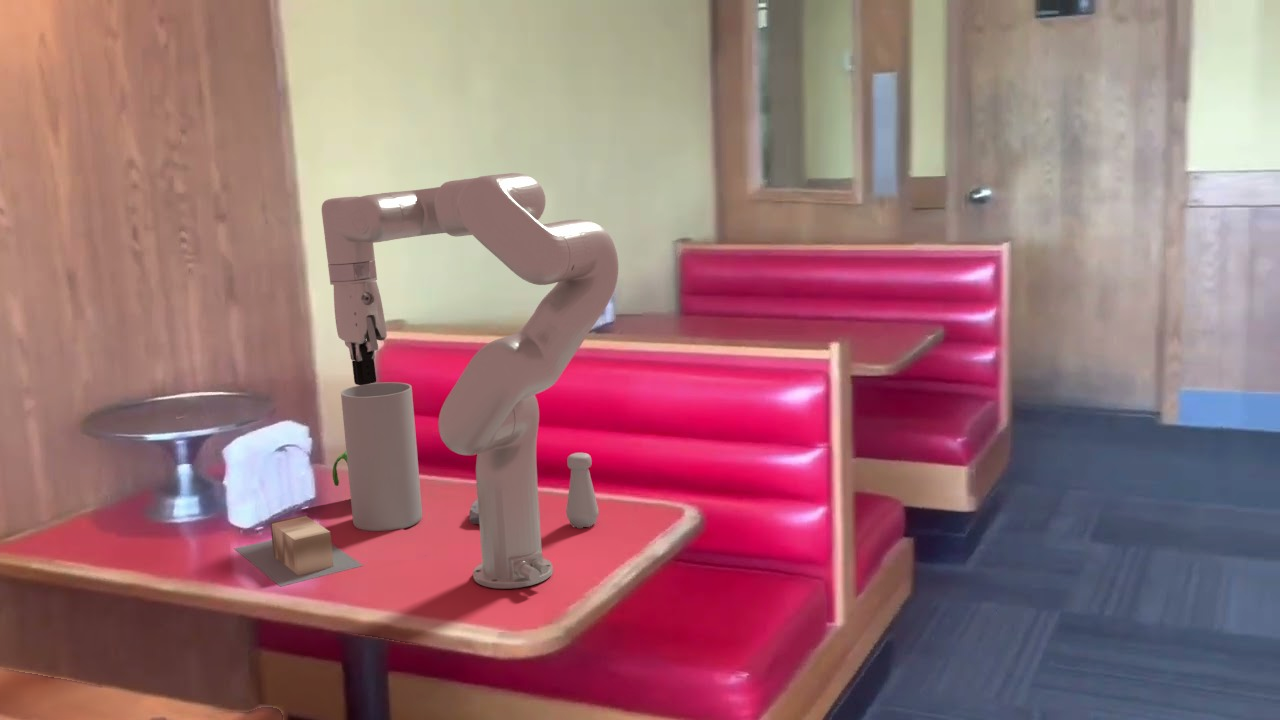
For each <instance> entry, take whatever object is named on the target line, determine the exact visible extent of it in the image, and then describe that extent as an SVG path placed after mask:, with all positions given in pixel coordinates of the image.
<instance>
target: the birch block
mask: <svg viewBox="0 0 1280 720" xmlns="http://www.w3.org/2000/svg"><path fill="white" fill-rule="evenodd" d="M269 524H270V532H271V540H272V543H273V552H274V557H275V558H277V559H278V560H279V561H281V562H282V563H283V564H284V565H286V566H287V567H288V568H290V569H291V570H292V571H293V572H295V573H296V574H297V575H301V574H306V573H310V572H314V571H318V570H322V569H326V568H330V567H334V564H333V554H332V545H333V544H332V535H331V531H330V530H328V529H327V528H326V527H324V526H322V525H321V524H319V523H318V522H316V521H314V520H313V519H311V517H308V516H307V515H305V514H303V515H299V516H294V517H290V518H286V519H280V520H276V521H272V522H270V523H269Z"/></svg>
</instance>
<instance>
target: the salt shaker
mask: <svg viewBox="0 0 1280 720" xmlns="http://www.w3.org/2000/svg"><path fill="white" fill-rule="evenodd" d="M566 460H567V467H568V469H570V477H569V486H568V487H569V488H568V494H567V495H568V496H567V503H566V509H565V512H566V517H567V520H568V521H569V523H570V525H571V527H572V528H575V527H577V529H584V528H583V527H589V528H591V527H593V526H594V525H593V524H596V522H597V519H598V516H599V514H600V513H599V512H600V509H599V506H598V502H597V497H596V492H595V489H594V486H593V481H592V478H591V473H590V470H589V468H591V467H592V462H593V460H592V457H591V455H590V454H589V453H587V452H574V453H571V454H570V455H568V456H567V459H566ZM592 525H593V526H592ZM573 526H574V527H573ZM590 526H591V527H590Z"/></svg>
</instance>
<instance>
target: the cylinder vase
mask: <svg viewBox="0 0 1280 720" xmlns="http://www.w3.org/2000/svg"><path fill="white" fill-rule="evenodd" d="M412 388H413V387H412V385H411V384H409V383H406V382H405V383H404V382H393V381H391V382H390V381H389V382H388V381H387V382H375V383H371V384H366V385H354V386H350V387H348V388H345V389H343V390H342V391H341V392H340V396H341V397H340V398H341V406H342V408H341V409H342V410H341V411H342V419H343V430H344V431H343V432H344V439H345V448H346V449H345V451H346V452H347V462H346V464H347V463H348V465H347V472H348V483H349V493H350V506H351V514H352V523H353V525H354V527H355V528H357V529H359V530H362V531H367V532H388V531H395V530H401V529H402V530H404V529H407V528H409V527H412V526H414V525H416V524H418V523H419V522H420V521H421V520H422V517H423V508H422V496H421V487H420V486H421V484H420V483H421V482H420V473H419V471H420V470H419V469H420V468H419V460H418V446H417V437H416V436H417V435H416V424H415V422H416V421H415V411H414V409H415V408H414V401H413V400H414V399H413V389H412Z"/></svg>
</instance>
